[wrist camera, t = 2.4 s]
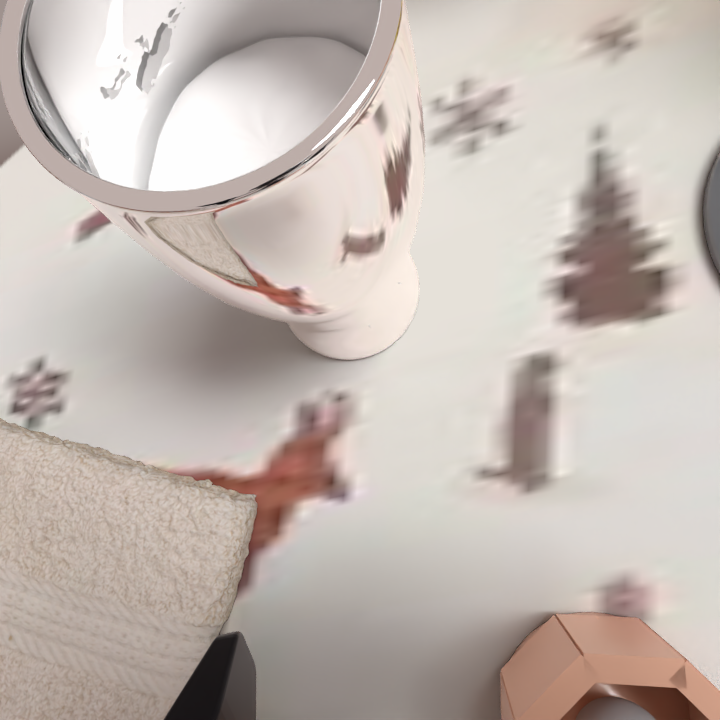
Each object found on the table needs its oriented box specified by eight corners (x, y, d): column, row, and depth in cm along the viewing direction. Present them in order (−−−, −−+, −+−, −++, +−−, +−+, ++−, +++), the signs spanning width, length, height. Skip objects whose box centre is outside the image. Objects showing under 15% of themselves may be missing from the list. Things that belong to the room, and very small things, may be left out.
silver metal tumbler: (254, 348, 23) (-80, 176, 8) (298, 204, 23) (69, -196, 9) (406, 388, 21) (342, 271, 7) (447, 234, 22) (472, -172, 7)
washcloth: (-62, 391, 25) (-130, 384, 22) (275, 489, 22) (249, 496, 19) (-150, 638, 24) (-235, 667, 21) (197, 781, 21) (156, 840, 18)
